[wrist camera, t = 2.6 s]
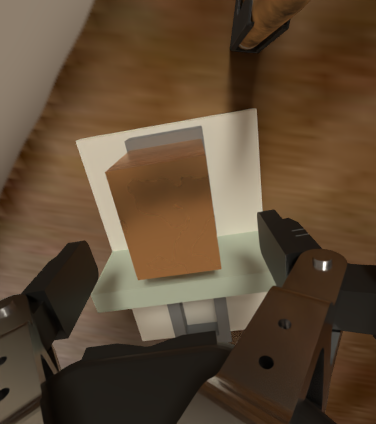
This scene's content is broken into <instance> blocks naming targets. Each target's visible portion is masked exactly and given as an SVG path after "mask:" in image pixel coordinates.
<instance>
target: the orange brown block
mask: <svg viewBox="0 0 376 424" xmlns="http://www.w3.org/2000/svg"><path fill="white" fill-rule="evenodd" d="M105 174H106V178H107V181H108V184H109V187H110V191H111V194H112V197H113V201H114V204H115V207H116V210H117V214H118V217H119V220H120V224H121V227H122V230H123V233H124V237H125V240H126V243H127V246H128V250H129V253H130V256H131V260H132V263H133V266H134V269H135V273H136V276H137V279H138V280H144V279H152V278H159V277H167V276H174V275H182V274H189V273H197V272H204V271H212V270H219V269H222V268H221V261H220V254H219V247H218V239H217V232H216V225H215V218H214V211H213V204H212V197H211V189H210V182H209V175H208V168H207V161H206V155H205V151H204V147H203V143H202V140H201V139H195V140H189V141H184V142H178V143H172V144H166V145H160V146H154V147H149V148H143V149H137V150H131V151H128V152H127V153H126V154H125V155H124V156H123V157H122V158H120V159H119V160H118V161H117V162H116V163H115V164H114V165H112V166H111V167H110V168H109V169H108V170H107V171H106V172H105Z"/></svg>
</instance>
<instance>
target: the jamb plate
mask: <svg viewBox="0 0 376 424" xmlns="http://www.w3.org/2000/svg"><path fill="white" fill-rule="evenodd" d="M195 139H201V140H202V143H203V147H204V151H205V155H206V161H207V168H208V175H209V182H210V189H211V197H212V204H213V211H214V218H215V225H216V232H217V239H218V247H219V254H220V261H221V268H222V269H219V270H212V271H204V272H197V273H189V274H182V275H174V276H167V277H159V278H152V279H144V280H138V279H137V276H136V273H135V269H134V266H133V263H132V260H131V256H130V253H129V250H128V246H127V243H126V240H125V237H124V233H123V230H122V227H121V224H120V220H119V217H118V214H117V210H116V207H115V204H114V201H113V197H112V194H111V191H110V187H109V184H108V181H107V178H106V174H105V172H106V171H107V170H108V169H109V168H110V167H111V166H112V165H114V164H115V163H116V162H117V161H118V160H119V159H120V158H122V157H123V156H124V155H125V154H126V153H127V152H128V151H131V150H137V149H143V148H149V147H154V146H160V145H166V144H172V143H178V142H184V141H189V140H195ZM76 144H77V147H78V150H79V152H80V155H81V158H82V161H83V164H84V167H85V170H86V173H87V176H88V179H89V182H90V185H91V188H92V191H93V194H94V197H95V200H96V203H97V206H98V209H99V212H100V215H101V218H102V221H103V224H104V227H105V230H106V233H107V236H108V239H109V242H110V245H111V248H112V251H113V252H112V254H111V256H110V258H109V260H108V262H107V264H106V266H105V268H104V270H103V272H102V274H101V276H100V278H99V280H98V281H97V283H96V285H95V287H94V289H93V291H92V293H91V297H92V299H93V302H94V304H95V307H96V309H97V311H98V313H101V312H109V311H117V310H125V309H132V311H133V314H134V317H135V320H136V323H137V326H138V329H139V332H140V335H141V338H142V341H149V340H158V339H167V338H175V337H178V336H181V335H185V334H193V333H200V332H208V331H216V336H217V341H219V342H225V343H228V342H232V338H231V331H236V330H245V328H246V327H247V325H248V323H249V322H250V320H251V319H252V317H253V315H254V314H255V312H256V310H257V309H258V307H259V306H260V304H261V302H262V301H263V299H264V298H265V296H266V294H267V292H268V291H269V289H270V288H271V287H272V286H274V285H275V286H276V284H275V282H274V280H273V277H272V275H271V273H270V271H269V269H268V267H267V265H266V263H265V261H264V259H263V256H262V254H261V250H260V245H259V235H258V224H257V212H262V195H261V178H260V160H259V143H258V125H257V109H254V108H252V109H246V110H241V111H235V112H230V113H224V114H218V115H213V116H207V117H201V118H196V119H190V120H184V121H179V122H173V123H168V124H162V125H156V126H151V127H145V128H139V129H134V130H128V131H122V132H117V133H111V134H106V135H100V136H94V137H89V138H83V139H80V140H77V141H76Z"/></svg>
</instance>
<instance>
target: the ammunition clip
mask: <svg viewBox="0 0 376 424" xmlns="http://www.w3.org/2000/svg"><path fill="white" fill-rule="evenodd" d="M309 1H310V0H236V4H235V12H234V20H233V28H232V36H231V44H230V50H231V51H237V52H248V53H259V52H260V51H262V50H263V49H264V48H265V47H267V46H268V45H269V44H270V43H271V42H273V41H274V40H275V39H276V38H278V37H279V36H280V35H281V34H283V33H284V32H285V31H286V30H287V29H288V28H289V23H290V18H292V17H293V16H294V15H295V14H297V13H298V12H299V11H300V10H302V9H303V8H304V6H305V5H306V4H307V3H308V2H309Z"/></svg>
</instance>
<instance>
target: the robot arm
mask: <svg viewBox="0 0 376 424" xmlns="http://www.w3.org/2000/svg"><path fill="white" fill-rule="evenodd" d="M257 224H258V235H259V245H260V250H261V254H262V256H263V259H264V261H265V263H266V265H267V267H268V269H269V271H270V273H271V275H272V277H273V280H274V282H275V284H276V286H275V285H274V286H272V287H271V288H270V289H269V291H268V293H267V294H266V296H265V298H264V299H263V301H262V302H261V304H260V306H259V307H258V309H257V310H256V312H255V314H254V315H253V317H252V319H251V320H250V322H249V323H248V325H247V327H246V328H245V330H244V332H243V333H242V335H241V336H240V338H239V340H238V341H237V343H236V345H233V344H230V343H225V342H219V341H217V336H216V331H208V332H200V333H193V334H185V335H181V336H178V337H175V338H173V339H170V340H167V341H164V342H161V343H159V344H156V345H153V346H149V347H143V346H134V345H125V344H110V345H103V346H95V347H88V348H86V350H85V353H84V355H83V357H82V360H80V361H77V362H75V363H73V364H71V365H69V366H67V367H65V368H64V369H62V370H61V367H60V364H59V361H58V358H57V355H56V351H55V349H54V347H53V345H52V343H53V341H54V340H59V339H66V338H69V336H70V334H71V332H72V330H73V328H74V326H75V324H76V322H77V320H78V318H79V316H80V314H81V312H82V310H83V308H84V306H85V304H86V302H87V300H88V299H89V297H90V295H91V293H92V291H93V289H94V287H95V285H96V283H97V281H98V268H97V265H96V263H95V260H94V258H93V255H92V252H91V250H90V247H89V245H88V243H87V242H86V241H79V242H72V243H68V244H67V245H66V246H65V247H64V248H63V249H62V251H61V252H60V253H59V254H58V255H57V256H56V257H55V258H54V259H52V260H51V261H49V262H48V263H47V265H46V266H45V267H44V268H43V269H42V271H40V273H39V274H38V275H37V277H35V278H34V279H33V281H32V282H31V283H30V284H29V285H28V286H27V287H26V289H25V290H24V291H23V292H22V293H21V294H17V295H12V296H9V297H7V298H4V299H2V300H0V424H336V423H335V422H334V421H333V420H332V419H330V418H329V417H328V416H327V415H326V414H325V410H326V406H327V400H328V395H329V387H330V381H331V376H332V372H333V368H334V364H335V360H336V356H337V352H338V348H339V344H340V340H341V336H342V333H343V331H349V332H357V333H364V334H372V335H373V337H374V338H375V339H376V265H357V264H349V263H347V260H346V259H345V258H344V257H343V256H342V255H341V254H339V253H337V252H334V251H331V250H327V249H322V248H321V247H320V246H319V245H318V244H317V243H316V241H315V240H314V239H313V238H312V237H311V236H310V235H308V233H307V232H306V230H305V229H304V228H303V227H302V226H301V225H300V224H299V223H298V222H296V221H294V220H292V219H290V218H285V219H282V218H281V217H280V216H279V214H278V213H277V212H276V211H275V210H268V211H262V212H257Z"/></svg>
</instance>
